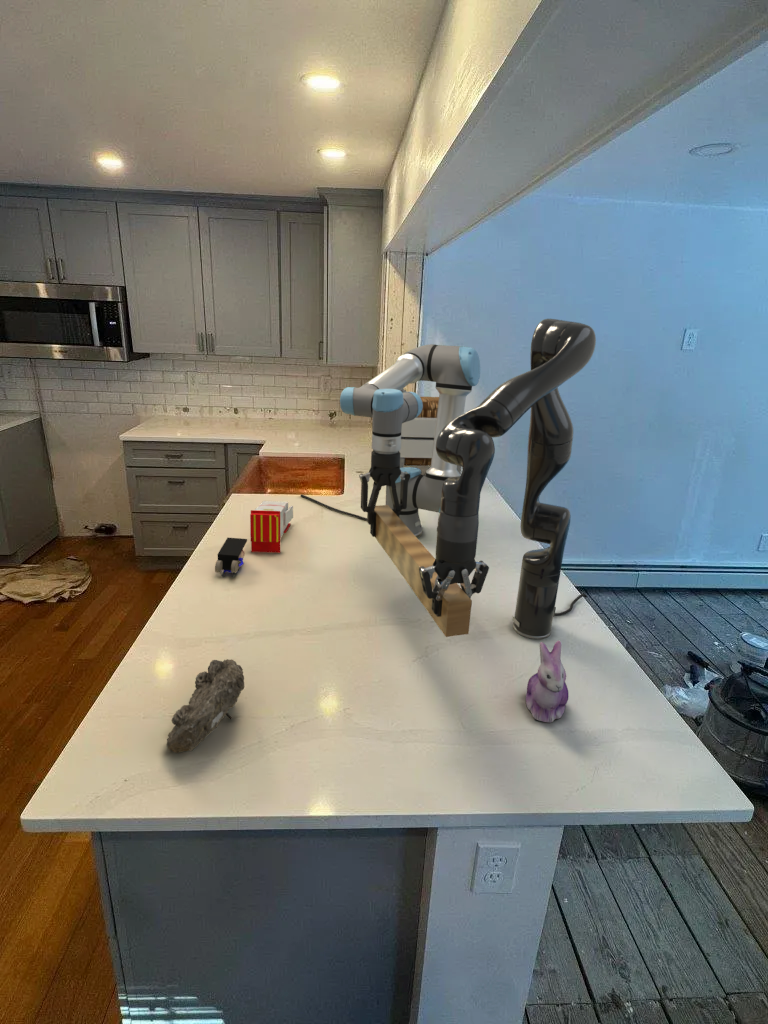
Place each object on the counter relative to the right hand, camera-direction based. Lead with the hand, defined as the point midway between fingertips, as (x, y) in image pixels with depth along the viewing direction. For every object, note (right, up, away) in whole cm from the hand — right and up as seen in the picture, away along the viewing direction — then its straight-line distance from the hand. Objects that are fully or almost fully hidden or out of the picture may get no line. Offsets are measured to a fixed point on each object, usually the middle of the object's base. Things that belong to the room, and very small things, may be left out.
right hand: (450, 612), depth 111 cm
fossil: (-46, -19, -3) cm, 50 cm away
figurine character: (-58, +3, +56) cm, 81 cm away
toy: (-51, +11, +81) cm, 97 cm away
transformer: (+4, +39, +164) cm, 168 cm away
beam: (-7, +5, +22) cm, 23 cm away
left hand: (-13, +14, +43) cm, 47 cm away
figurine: (+20, -20, +3) cm, 28 cm away
